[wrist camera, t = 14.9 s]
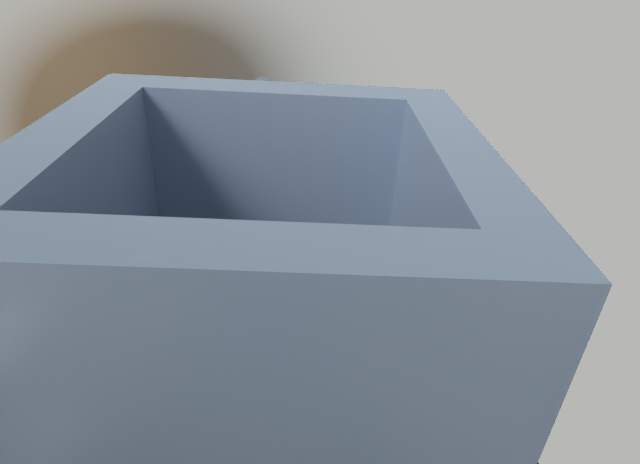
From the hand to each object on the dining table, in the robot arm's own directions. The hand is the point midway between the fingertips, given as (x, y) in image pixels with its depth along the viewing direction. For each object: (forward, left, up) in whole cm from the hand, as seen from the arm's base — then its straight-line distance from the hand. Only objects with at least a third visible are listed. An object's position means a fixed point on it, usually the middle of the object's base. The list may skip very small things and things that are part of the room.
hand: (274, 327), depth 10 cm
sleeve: (+2, -2, -7) cm, 7 cm away
